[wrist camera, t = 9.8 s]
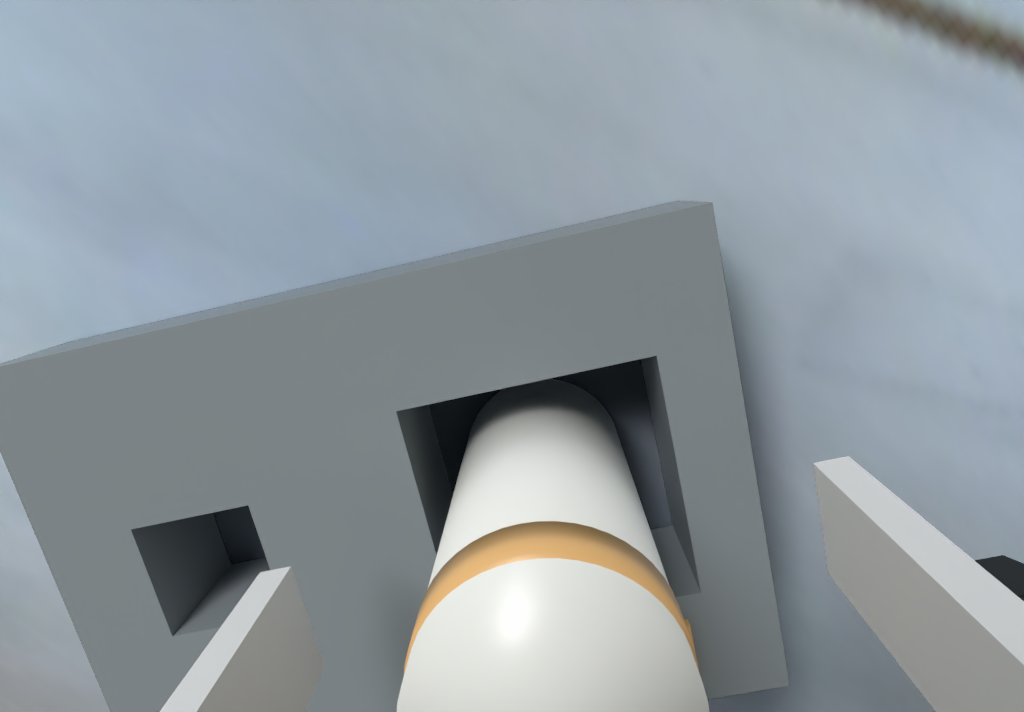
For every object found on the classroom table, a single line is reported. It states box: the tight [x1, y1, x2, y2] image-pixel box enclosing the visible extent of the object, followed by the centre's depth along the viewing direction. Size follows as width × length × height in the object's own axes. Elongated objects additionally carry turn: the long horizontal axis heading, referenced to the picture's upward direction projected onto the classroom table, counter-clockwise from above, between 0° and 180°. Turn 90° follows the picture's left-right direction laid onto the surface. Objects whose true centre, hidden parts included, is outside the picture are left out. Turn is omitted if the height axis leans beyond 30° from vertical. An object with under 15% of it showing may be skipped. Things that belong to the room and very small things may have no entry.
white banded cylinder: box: [397, 379, 709, 712], centre depth 17 cm, size 5×5×12 cm
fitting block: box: [0, 201, 790, 712], centre depth 21 cm, size 20×14×4 cm
